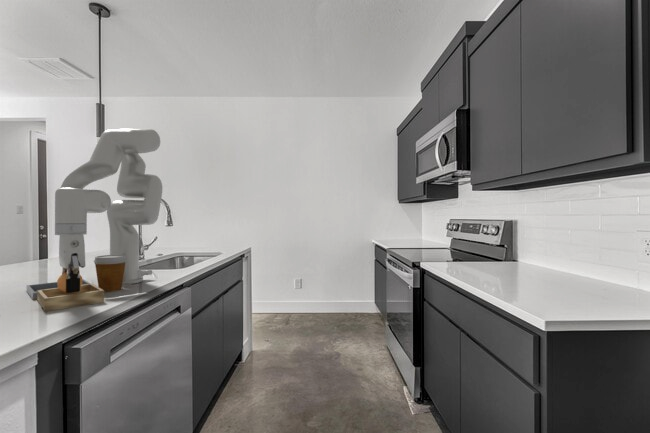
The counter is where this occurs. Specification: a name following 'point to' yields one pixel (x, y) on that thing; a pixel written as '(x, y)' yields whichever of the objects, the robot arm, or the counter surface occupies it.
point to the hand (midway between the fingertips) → (70, 289)
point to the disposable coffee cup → (110, 271)
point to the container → (33, 288)
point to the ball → (64, 282)
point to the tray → (69, 297)
